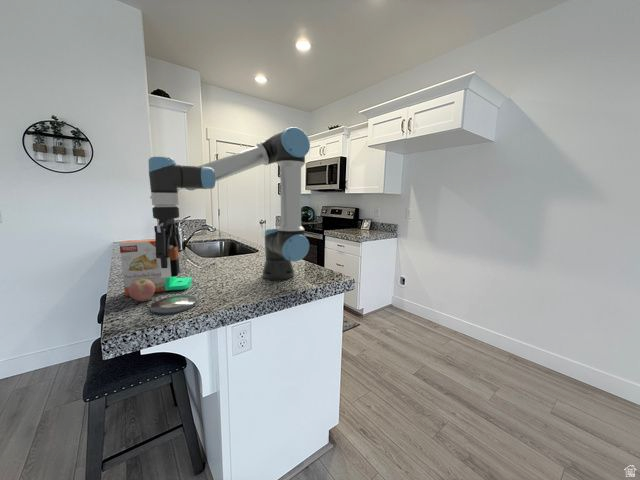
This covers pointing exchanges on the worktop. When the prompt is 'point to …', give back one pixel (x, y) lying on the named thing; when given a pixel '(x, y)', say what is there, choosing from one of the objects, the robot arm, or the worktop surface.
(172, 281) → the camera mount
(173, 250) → the battery
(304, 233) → the robot arm
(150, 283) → the apple
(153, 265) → the cracker box
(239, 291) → the worktop surface
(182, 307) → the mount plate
